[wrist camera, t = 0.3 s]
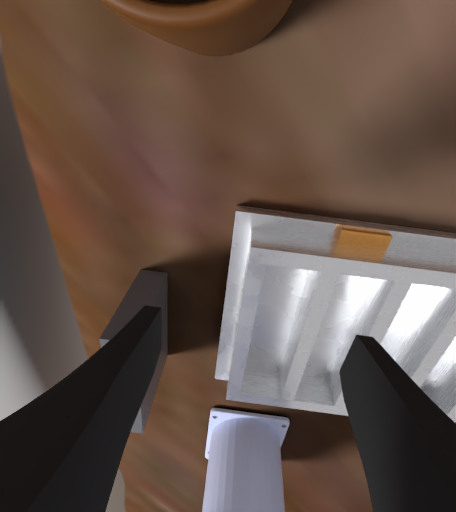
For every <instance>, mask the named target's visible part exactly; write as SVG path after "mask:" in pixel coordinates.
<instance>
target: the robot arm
mask: <svg viewBox="0 0 456 512" xmlns="http://www.w3.org/2000/svg"><path fill="white" fill-rule="evenodd" d="M161 347H162V307H154V306H147V305H145V306H143V307H142V308H141V309H140V310H139V311H138V312H137V313H136V314H135V315H134V317H133V318H132V319H131V320H130V321H129V322H128V323H127V324H126V325H125V326H124V327H123V328H122V329H121V330H120V331H119V332H118V333H117V334H115V335H114V336H113V337H112V338H111V339H110V340H109V341H108V342H107V343H106V344H105V345H104V346H103V347H102V348H100V349H99V350H98V351H97V352H96V353H95V354H93V355H92V356H91V357H90V358H89V359H88V360H86V361H85V362H84V363H83V364H82V365H80V366H79V367H78V368H77V369H75V370H74V371H73V372H72V373H71V374H69V375H68V376H67V377H65V378H64V379H63V380H61V381H60V382H58V383H57V384H56V385H54V386H53V387H52V388H50V389H49V390H47V391H46V392H44V393H43V394H42V395H40V396H39V397H37V398H36V399H34V400H33V401H31V402H30V403H28V404H27V405H25V406H24V407H22V408H21V409H19V410H18V411H16V412H14V413H13V414H11V415H10V416H8V417H6V418H5V419H3V420H1V421H0V512H105V511H106V507H107V503H108V500H109V497H110V493H111V490H112V487H113V484H114V480H115V477H116V474H117V470H118V467H119V464H120V461H121V458H122V454H123V451H124V448H125V445H126V442H127V439H128V437H129V434H130V431H131V429H132V426H133V424H134V422H135V419H136V417H137V414H138V412H139V409H140V407H141V404H142V402H143V399H144V397H145V395H146V392H147V390H148V387H149V385H150V382H151V380H152V377H153V375H154V372H155V368H156V365H157V361H158V358H159V354H160V350H161ZM339 374H340V380H341V387H342V393H343V398H344V402H345V406H346V409H347V413H348V416H349V420H350V423H351V426H352V430H353V433H354V437H355V440H356V443H357V447H358V450H359V453H360V457H361V460H362V463H363V467H364V471H365V475H366V478H367V483H368V487H369V492H370V497H371V502H372V507H373V512H456V423H455V422H454V421H453V420H452V419H451V418H449V417H448V416H447V415H446V414H445V413H444V412H443V411H442V410H441V409H440V408H439V407H438V406H437V405H436V404H435V403H434V402H433V401H432V400H431V399H430V398H429V397H428V396H427V395H426V394H425V393H424V391H423V390H422V389H421V388H420V387H419V386H418V385H417V384H416V383H415V382H414V381H413V380H412V379H411V378H410V377H409V376H408V374H407V373H406V372H405V371H404V370H403V369H402V368H401V367H400V366H399V365H398V363H397V362H396V361H395V360H394V359H393V358H392V357H391V356H390V355H389V354H388V352H387V351H386V350H385V349H384V348H383V347H382V346H381V345H380V344H379V343H378V342H377V341H376V340H375V339H374V337H371V336H363V335H356V336H355V338H354V340H353V343H352V345H351V347H350V349H349V351H348V353H347V356H346V358H345V360H344V362H343V364H342V366H341V369H340V371H339ZM289 424H290V421H289V419H288V418H286V417H280V416H273V415H265V414H258V413H250V412H243V411H235V410H228V409H221V408H212V409H211V412H210V420H209V428H208V436H207V444H206V452H205V457H206V458H207V459H209V460H208V468H207V476H206V485H205V493H204V501H203V510H202V512H285V507H284V493H283V479H282V465H281V451H280V448H281V446H282V443H283V440H284V438H285V435H286V432H287V430H288V427H289Z"/></svg>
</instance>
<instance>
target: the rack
mask: <svg viewBox="0 0 456 512" xmlns="http://www.w3.org/2000/svg"><path fill="white" fill-rule="evenodd" d="M356 335H363V336H371V337H374V339H375V340H376V341H377V342H378V343H379V344H380V345H381V346H382V347H383V348H384V349H385V350H386V351H387V352H388V354H389V355H390V356H391V357H392V358H393V359H394V360H395V361H396V362H397V363H398V365H399V366H400V367H401V368H402V369H403V370H404V371H405V372H406V373H407V374H408V376H409V377H410V378H411V379H412V380H413V381H414V382H415V383H416V384H417V385H418V386H419V387H420V388H421V389H422V390H423V391H424V393H425V394H426V395H427V396H428V397H429V398H430V399H431V400H432V401H433V402H434V403H435V404H436V405H437V406H438V407H439V408H440V409H441V410H442V411H443V412H444V413H445V414H446V415H447V416H448V417H449V418H451V419H452V420H453V421H454V422H456V233H452V232H444V231H436V230H428V229H421V228H413V227H405V226H397V225H389V224H381V223H373V222H365V221H358V220H350V219H342V218H334V217H326V216H318V215H310V214H302V213H294V212H287V211H279V210H271V209H263V208H255V207H247V206H239V205H237V207H236V215H235V223H234V230H233V238H232V246H231V254H230V262H229V270H228V278H227V286H226V294H225V302H224V309H223V317H222V325H221V333H220V341H219V349H218V357H217V365H216V373H215V379H221V380H228V381H227V392H226V400H233V401H241V402H248V403H256V404H263V405H270V406H278V407H285V408H293V409H300V410H308V411H315V412H322V413H330V414H337V415H345V416H348V413H347V409H346V406H345V402H344V398H343V393H342V387H341V380H340V374H339V371H340V369H341V366H342V364H343V362H344V360H345V358H346V356H347V353H348V351H349V349H350V347H351V345H352V343H353V340H354V338H355V336H356Z"/></svg>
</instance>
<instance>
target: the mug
mask: <svg viewBox="0 0 456 512" xmlns="http://www.w3.org/2000/svg"><path fill="white" fill-rule="evenodd" d="M100 1H101V2H103V3H104V4H105V5H107V6H108V7H109V8H110V9H112V10H113V11H114V12H115V13H117V14H118V15H120V16H121V17H122V18H124V19H125V20H127V21H128V22H130V23H131V24H133V25H134V26H136V27H138V28H140V29H142V30H144V31H146V32H148V33H149V34H151V35H153V36H156V37H158V38H160V39H162V40H165V41H167V42H169V43H172V44H174V45H176V46H179V47H182V48H185V49H187V50H189V51H192V52H195V53H198V54H202V55H208V56H226V55H232V54H235V53H239V52H242V51H244V50H246V49H248V48H250V47H252V46H253V45H255V44H257V43H258V42H260V41H261V40H262V39H263V38H264V37H265V36H267V35H268V34H269V33H270V32H271V31H272V30H273V29H274V28H275V26H276V25H277V24H278V23H279V22H280V20H281V19H282V17H283V16H284V15H285V13H286V12H287V10H288V8H289V6H290V5H291V3H292V1H293V0H100Z"/></svg>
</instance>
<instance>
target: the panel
mask: <svg viewBox="0 0 456 512" xmlns="http://www.w3.org/2000/svg"><path fill="white" fill-rule="evenodd" d="M145 305H147V306H154V307H162V347H161V350H160V354H159V358H158V361H157V365H156V368H155V372H154V375H153V377H152V380H151V382H150V385H149V387H148V390H147V392H146V395H145V397H144V399H143V402H142V404H141V407H140V409H139V412H138V414H137V417H136V419H135V422H134V424H133V426H132V429H131V431H130V432H135V433H143V431H144V428H145V425H146V421H147V418H148V415H149V412H150V409H151V406H152V402H153V399H154V396H155V393H156V390H157V387H158V383H159V380H160V377H161V374H162V371H163V368H164V364H165V361H166V358H167V355H168V341H167V273H165V272H157V271H149V270H142V269H141V270H140V272H139V274H138V275H137V277H136V279H135V280H134V282H133V284H132V285H131V287H130V289H129V290H128V292H127V294H126V295H125V297H124V299H123V300H122V302H121V304H120V305H119V307H118V309H117V310H116V312H115V314H114V315H113V317H112V319H111V320H110V322H109V324H108V325H107V327H106V329H105V330H104V332H103V334H102V335H101V337H100V345H101V348H102V347H103V346H104V345H105V344H106V343H107V342H108V341H109V340H110V339H111V338H112V337H113V336H114V335H115V334H117V333H118V332H119V331H120V330H121V329H122V328H123V327H124V326H125V325H126V324H127V323H128V322H129V321H130V320H131V319H132V318H133V317H134V315H135V314H136V313H137V312H138V311H139V310H140V309H141V308H142V307H143V306H145Z"/></svg>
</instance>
